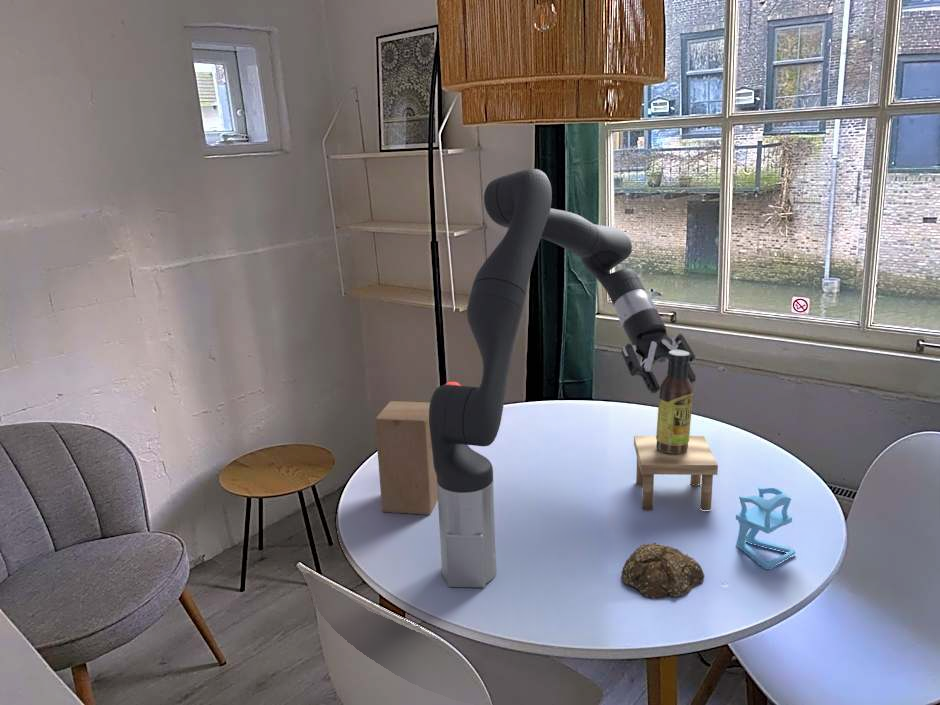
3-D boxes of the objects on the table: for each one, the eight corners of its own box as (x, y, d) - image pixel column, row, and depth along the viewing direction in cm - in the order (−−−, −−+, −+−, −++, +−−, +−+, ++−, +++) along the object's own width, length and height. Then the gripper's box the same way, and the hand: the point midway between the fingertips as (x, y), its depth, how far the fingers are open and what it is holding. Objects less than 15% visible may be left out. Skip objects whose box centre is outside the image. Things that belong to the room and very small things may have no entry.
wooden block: (430, 515, 152) (424, 420, 146) (381, 512, 154) (374, 418, 148) (442, 492, 161) (437, 401, 156) (396, 489, 163) (389, 400, 158)
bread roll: (647, 550, 138) (648, 524, 136) (712, 575, 129) (713, 548, 128) (605, 581, 129) (606, 554, 127) (672, 610, 121) (673, 582, 119)
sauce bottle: (674, 458, 149) (680, 359, 143) (649, 448, 154) (653, 352, 148) (695, 449, 153) (702, 352, 147) (670, 440, 157) (675, 345, 152)
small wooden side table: (715, 513, 149) (717, 465, 146) (640, 512, 150) (641, 464, 147) (701, 480, 162) (703, 435, 159) (633, 479, 163) (634, 435, 161)
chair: (755, 536, 140) (758, 475, 137) (796, 555, 133) (801, 492, 130) (726, 550, 136) (729, 487, 133) (767, 570, 129) (772, 505, 126)
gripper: (617, 312, 151) (653, 384, 144) (676, 302, 157) (713, 371, 150) (601, 332, 157) (635, 402, 150) (659, 322, 163) (693, 389, 156)
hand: (674, 387), depth 150 cm, fingers open, 8 cm apart
